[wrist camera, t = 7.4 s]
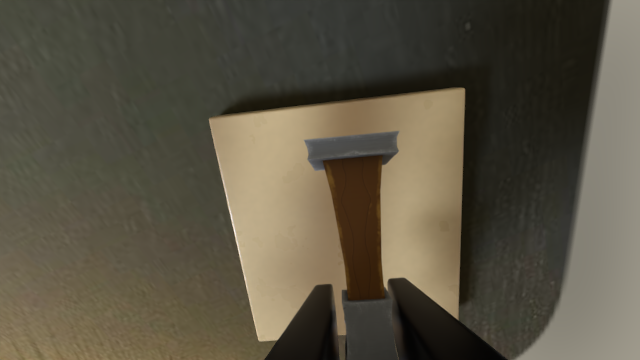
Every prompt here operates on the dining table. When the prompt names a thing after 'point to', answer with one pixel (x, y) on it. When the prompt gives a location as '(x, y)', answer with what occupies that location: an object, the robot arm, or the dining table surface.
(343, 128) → the birch pad
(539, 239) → the dining table surface
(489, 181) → the dining table surface
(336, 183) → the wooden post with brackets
